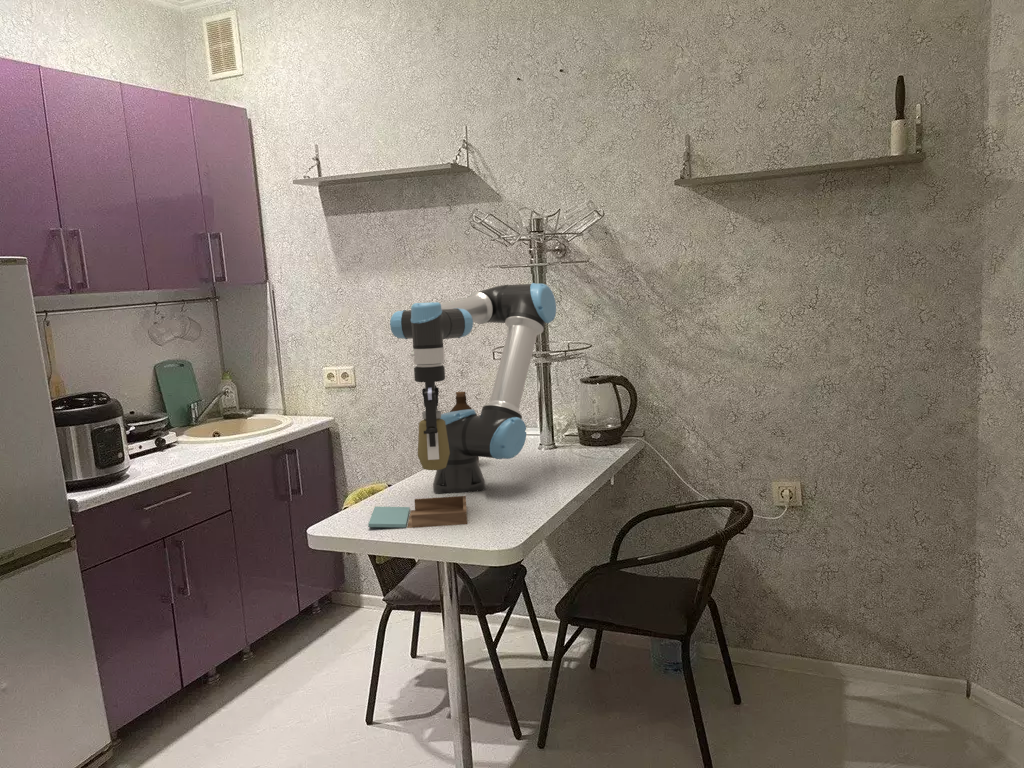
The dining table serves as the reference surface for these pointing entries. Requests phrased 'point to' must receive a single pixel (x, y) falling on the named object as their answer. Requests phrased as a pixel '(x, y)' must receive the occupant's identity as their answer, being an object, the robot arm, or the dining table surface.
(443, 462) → the squeeze bottle
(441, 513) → the crate
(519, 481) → the dining table surface
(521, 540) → the dining table surface
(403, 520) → the panel
